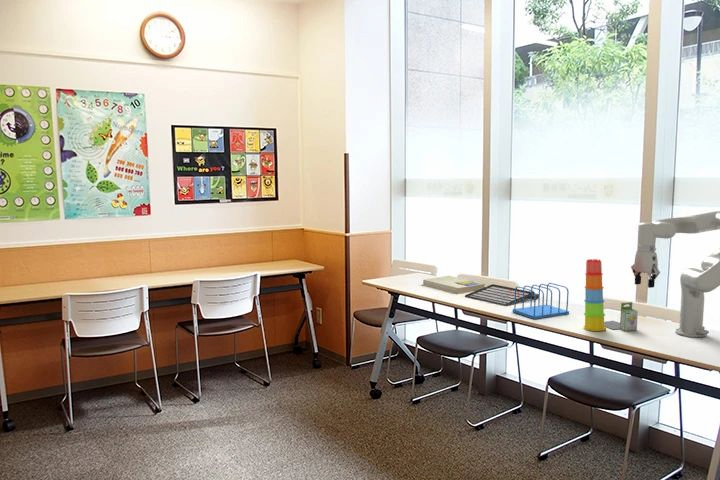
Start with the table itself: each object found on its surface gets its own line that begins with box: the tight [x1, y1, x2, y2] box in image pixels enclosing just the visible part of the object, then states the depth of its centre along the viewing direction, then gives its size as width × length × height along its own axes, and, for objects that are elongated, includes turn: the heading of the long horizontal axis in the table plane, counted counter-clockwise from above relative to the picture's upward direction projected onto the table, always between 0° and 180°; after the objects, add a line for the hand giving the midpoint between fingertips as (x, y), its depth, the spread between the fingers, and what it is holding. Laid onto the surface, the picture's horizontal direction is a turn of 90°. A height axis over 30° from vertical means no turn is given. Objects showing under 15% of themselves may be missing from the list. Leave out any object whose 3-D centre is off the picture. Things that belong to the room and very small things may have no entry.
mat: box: [604, 320, 621, 331], centre depth 290 cm, size 13×12×1 cm
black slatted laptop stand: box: [464, 283, 539, 307], centre depth 355 cm, size 32×7×31 cm
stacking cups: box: [582, 258, 607, 332], centre depth 282 cm, size 10×10×35 cm
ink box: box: [619, 301, 639, 332], centre depth 281 cm, size 7×4×13 cm, turn 105°
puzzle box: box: [422, 275, 486, 295], centre depth 388 cm, size 36×5×24 cm
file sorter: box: [511, 282, 570, 320], centre depth 315 cm, size 25×17×15 cm
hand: (644, 285), depth 271 cm, fingers open, 7 cm apart
